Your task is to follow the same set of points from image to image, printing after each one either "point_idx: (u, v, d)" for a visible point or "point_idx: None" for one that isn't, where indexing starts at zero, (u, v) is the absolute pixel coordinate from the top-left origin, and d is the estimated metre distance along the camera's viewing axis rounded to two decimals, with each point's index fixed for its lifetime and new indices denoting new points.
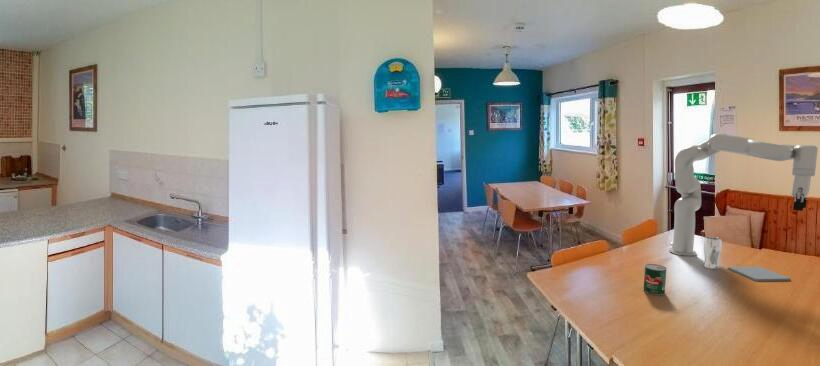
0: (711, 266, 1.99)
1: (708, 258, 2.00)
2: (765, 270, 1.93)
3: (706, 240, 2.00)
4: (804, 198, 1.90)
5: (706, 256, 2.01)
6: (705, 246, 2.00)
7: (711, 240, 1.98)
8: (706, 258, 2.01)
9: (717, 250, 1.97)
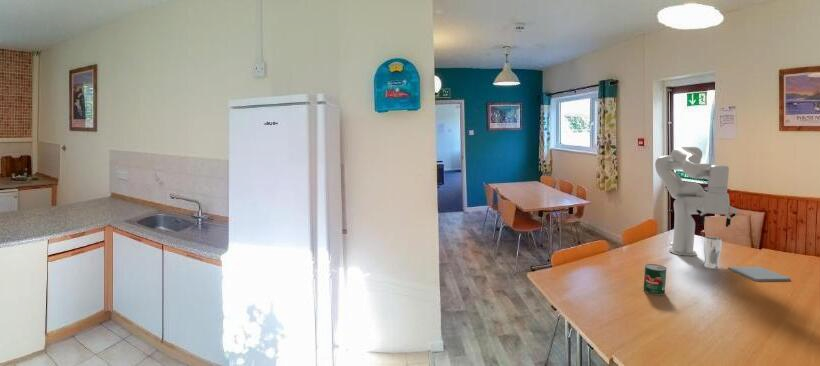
0: (711, 266, 1.99)
1: (708, 258, 2.00)
2: (765, 270, 1.93)
3: (706, 240, 2.00)
4: None
5: (706, 256, 2.01)
6: (705, 246, 2.00)
7: (711, 240, 1.98)
8: (706, 258, 2.01)
9: (717, 250, 1.97)
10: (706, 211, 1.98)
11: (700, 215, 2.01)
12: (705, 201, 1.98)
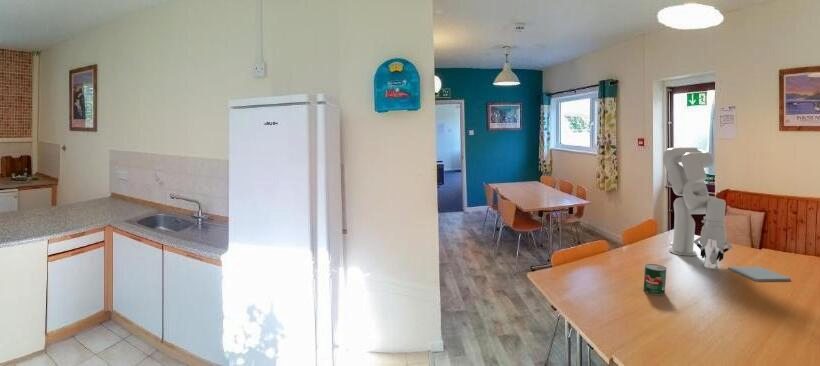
0: (711, 266, 1.99)
1: (708, 258, 2.00)
2: (765, 270, 1.93)
3: None
4: None
5: (706, 256, 2.01)
6: (705, 246, 2.00)
7: (711, 240, 1.98)
8: (706, 258, 2.01)
9: (717, 250, 1.97)
10: (703, 244, 2.00)
11: (701, 249, 2.03)
12: (702, 234, 2.00)
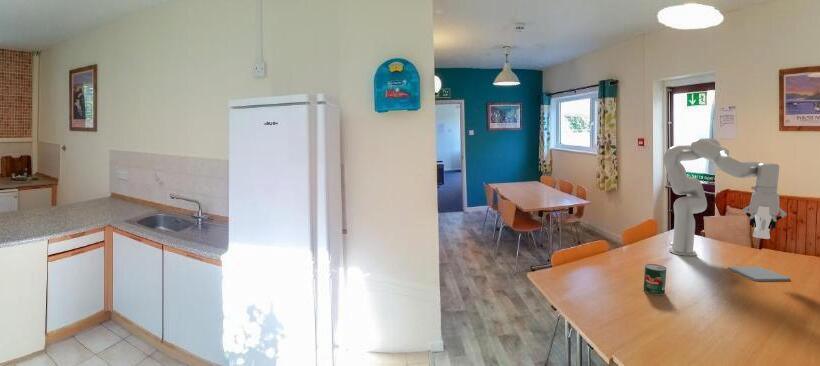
0: (762, 235, 1.86)
1: (759, 227, 1.87)
2: (765, 270, 1.93)
3: None
4: None
5: (756, 225, 1.87)
6: (755, 214, 1.87)
7: (763, 207, 1.84)
8: (756, 227, 1.88)
9: (769, 218, 1.84)
10: (753, 212, 1.87)
11: (750, 218, 1.89)
12: (752, 201, 1.87)
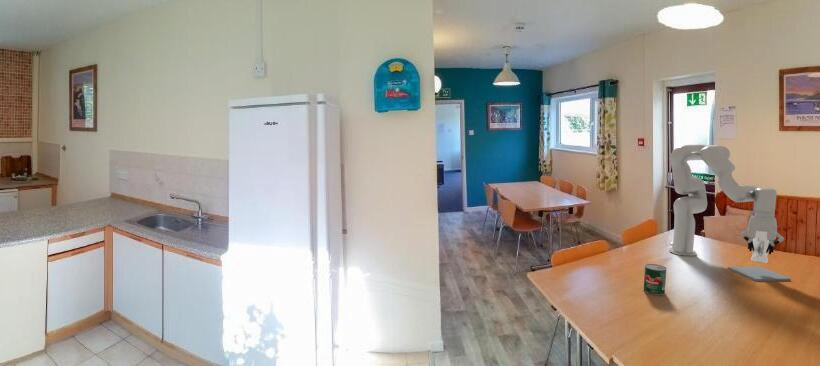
0: (760, 260, 1.87)
1: (757, 251, 1.88)
2: (765, 270, 1.93)
3: None
4: None
5: (754, 249, 1.89)
6: (753, 238, 1.89)
7: (760, 232, 1.86)
8: (754, 251, 1.89)
9: (767, 242, 1.85)
10: (751, 236, 1.89)
11: (748, 242, 1.91)
12: (750, 226, 1.89)
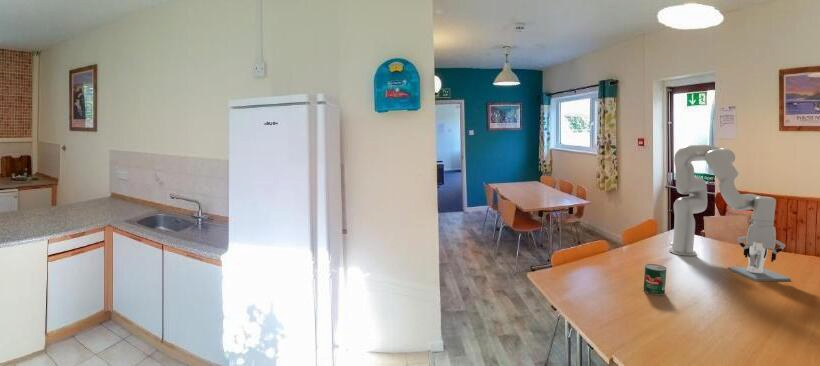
0: (756, 271, 1.89)
1: (753, 262, 1.89)
2: (765, 270, 1.93)
3: None
4: None
5: (750, 260, 1.90)
6: (750, 249, 1.90)
7: (757, 243, 1.87)
8: (750, 262, 1.91)
9: (763, 254, 1.87)
10: (750, 244, 1.89)
11: (744, 248, 1.92)
12: (749, 234, 1.89)
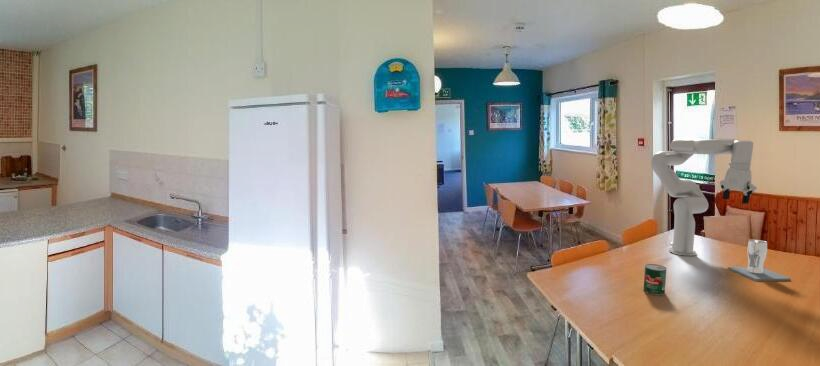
0: (756, 271, 1.89)
1: (753, 262, 1.90)
2: (765, 270, 1.93)
3: (750, 243, 1.90)
4: None
5: (750, 260, 1.90)
6: (749, 250, 1.90)
7: (756, 243, 1.87)
8: (750, 262, 1.91)
9: (763, 254, 1.87)
10: (725, 186, 1.98)
11: (722, 190, 2.01)
12: (726, 176, 1.98)
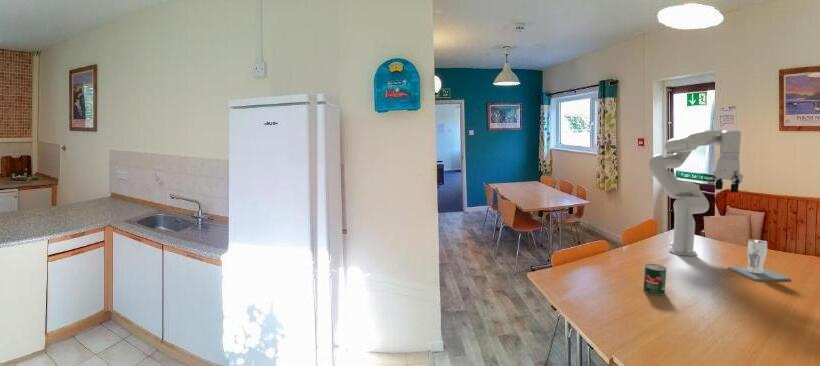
0: (756, 271, 1.89)
1: (753, 262, 1.90)
2: (765, 270, 1.93)
3: (750, 243, 1.90)
4: None
5: (750, 260, 1.90)
6: (749, 250, 1.90)
7: (756, 243, 1.87)
8: (750, 262, 1.91)
9: (763, 254, 1.87)
10: (716, 176, 2.01)
11: (715, 180, 2.04)
12: (716, 166, 2.01)
